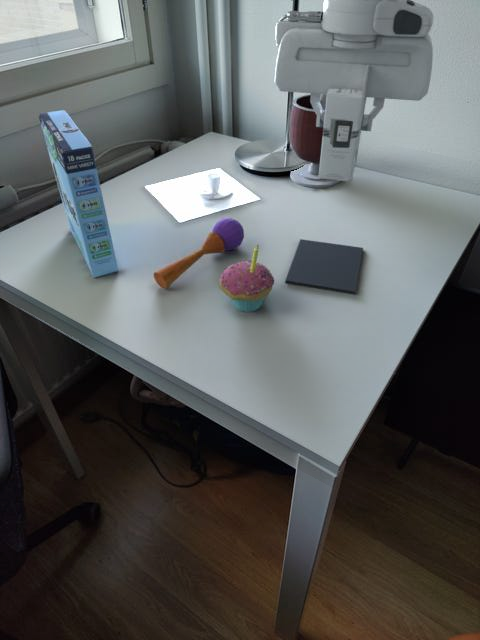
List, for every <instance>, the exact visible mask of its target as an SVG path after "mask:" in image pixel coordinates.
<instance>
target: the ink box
mask: <svg viewBox="0 0 480 640" xmlns="http://www.w3.org/2000/svg"><path fill="white" fill-rule="evenodd" d="M368 73H369V64H368V67H367V70H366V75H365V81H364V89H363V91H360V90H351V89H329V91H328V93H327V98H326V108H325V118H324V128H323V138H322V148H321V157H320V167H319V178H320V179H329V180H338V181H339V182H347V183H348V182H349V183H350V182H352V180H353V176H354V172H355V168H356V164H357V160H358V153H359V147H360V141H361V134H362V131H361V125H362V118H363V115H364V114H365V110H366V104H367V98H368V97H365V94H366V86H367V79H368Z"/></svg>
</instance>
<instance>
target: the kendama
mask: <svg viewBox="0 0 480 640" xmlns="http://www.w3.org/2000/svg"><path fill="white" fill-rule="evenodd" d="M244 238H245V231H244V228H243V225H242V224H241V222H239V221H238V220H236V219H234V218H231V217H227V218H221V219H220V220H219V221H217V222H216V223H215V224H214V226H213V228H212V231H210V232H209V233H208V234H207V236H206V238H205V240H204V242H203V244H202V246H201V248H200V249H198V250H195V251H194V252H192V253H190V254H188V255H186V256H184V257H182V258H181V259H179V260H176V261H174V262H173V263H171V264H168V265H166V266H164V267H163V268H160V269H158V270H157V271H154V272H153V278H154V281H155V282H156V284H157V286H159V287H160V288H161V289H163V290H164V289H165V290H166V289H167V288H169V287H170V286H171V285H172V284H173V283H174V282H175V281H176V280H177V279H178V278H179V277H181V276H182V275H184V273H185V272H186V271H187V270H188V269H189V268H191V267H192V266H193V265H194V264H195V263H197V261H199V260H200V259H201V258H202V257H203V256H204V255H209V254H211V255H212V254H220V253H221V254H222V253H223V252H224V251H233V250H235V249H237V248H238V247H239V246H241V245H242V243H243V241H244Z"/></svg>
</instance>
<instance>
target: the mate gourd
mask: <svg viewBox="0 0 480 640" xmlns="http://www.w3.org/2000/svg"><path fill="white" fill-rule="evenodd" d="M310 97H311V93H306V94H302V95H298V96H297V97H295V98H294V99H293V104H292V107H291V112H290V116H289V117H290V118H289V139H290V140H289V141H290V145H291V149H292V150H293V152H294V153H295V154H296V156H297V158H299V159H300V160H302V161H305V162H308V163H304V164H305V165H304V164H303V165H304V166H303V167H301V168H299V169H297V170H294V171H291V170H290V174H289V175H290V176H289V177H290V179H291V181H292V182H294V183H295V184H297V185H300V186H302V187H307V188H314V189H315V188H318V189H319V188H320V189H321V188H329V187H332V186H335V185H337V184H339V183H340V181H338V180H329V179H320V178H319V167H320V157H321V148H322V138H323V128H324V127H316V119H317V115H316V113H315V111H314V109H313V107H312V105H311V102H310ZM326 98H327V94H323V95H322V99H321V100H320V104H321V106H322V109H323V111H325V108H326Z"/></svg>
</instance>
